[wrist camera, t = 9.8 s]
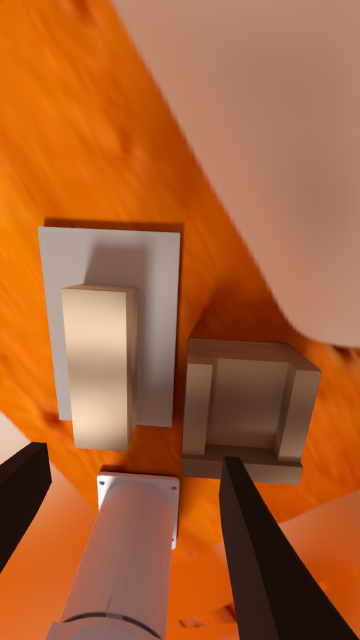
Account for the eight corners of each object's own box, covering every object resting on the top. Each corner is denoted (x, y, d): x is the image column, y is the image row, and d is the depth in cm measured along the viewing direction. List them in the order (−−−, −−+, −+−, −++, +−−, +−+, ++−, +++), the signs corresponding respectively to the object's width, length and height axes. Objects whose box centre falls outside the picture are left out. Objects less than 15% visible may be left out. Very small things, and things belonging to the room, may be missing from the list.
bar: (136, 423, 20) (127, 451, 17) (91, 419, 20) (74, 447, 17) (137, 286, 16) (125, 292, 14) (83, 283, 17) (61, 288, 14)
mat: (172, 422, 20) (171, 427, 20) (63, 415, 20) (59, 419, 20) (180, 233, 16) (180, 232, 15) (42, 227, 16) (37, 226, 16)
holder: (272, 430, 20) (299, 485, 15) (183, 424, 20) (181, 476, 15) (288, 343, 18) (325, 375, 13) (188, 337, 18) (187, 366, 13)
